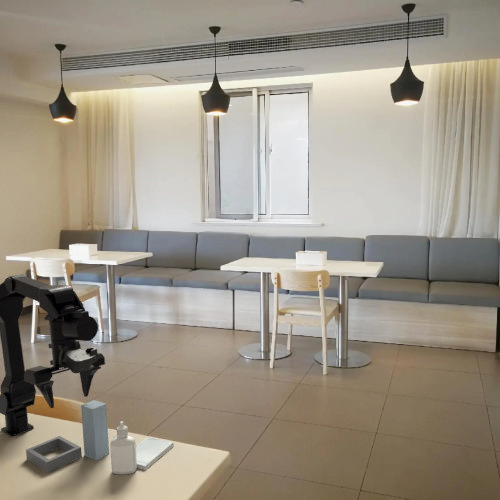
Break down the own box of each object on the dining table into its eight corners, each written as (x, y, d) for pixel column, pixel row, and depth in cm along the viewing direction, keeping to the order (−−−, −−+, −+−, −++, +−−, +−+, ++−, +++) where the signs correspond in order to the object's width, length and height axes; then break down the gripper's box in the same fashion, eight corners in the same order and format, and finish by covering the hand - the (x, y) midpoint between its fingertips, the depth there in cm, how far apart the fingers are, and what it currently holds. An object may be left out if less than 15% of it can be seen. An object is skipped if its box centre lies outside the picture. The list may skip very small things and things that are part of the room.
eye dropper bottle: (127, 478, 119) (124, 428, 117) (108, 472, 121) (105, 423, 120) (140, 469, 122) (137, 420, 121) (122, 463, 125) (119, 416, 124)
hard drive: (147, 436, 136) (116, 458, 125) (173, 441, 133) (145, 465, 122) (147, 442, 137) (117, 465, 125) (174, 448, 133) (145, 472, 122)
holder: (26, 459, 128) (25, 449, 128) (60, 444, 135) (59, 435, 135) (47, 472, 122) (46, 462, 122) (81, 456, 129) (81, 447, 129)
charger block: (84, 455, 130) (81, 405, 128) (97, 448, 133) (94, 399, 131) (96, 460, 127) (92, 409, 125) (109, 453, 130) (106, 403, 129)
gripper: (44, 349, 114) (51, 420, 114) (115, 332, 128) (121, 395, 129) (19, 346, 121) (26, 412, 121) (89, 330, 135) (95, 389, 136)
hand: (69, 402), depth 127 cm, fingers open, 9 cm apart
